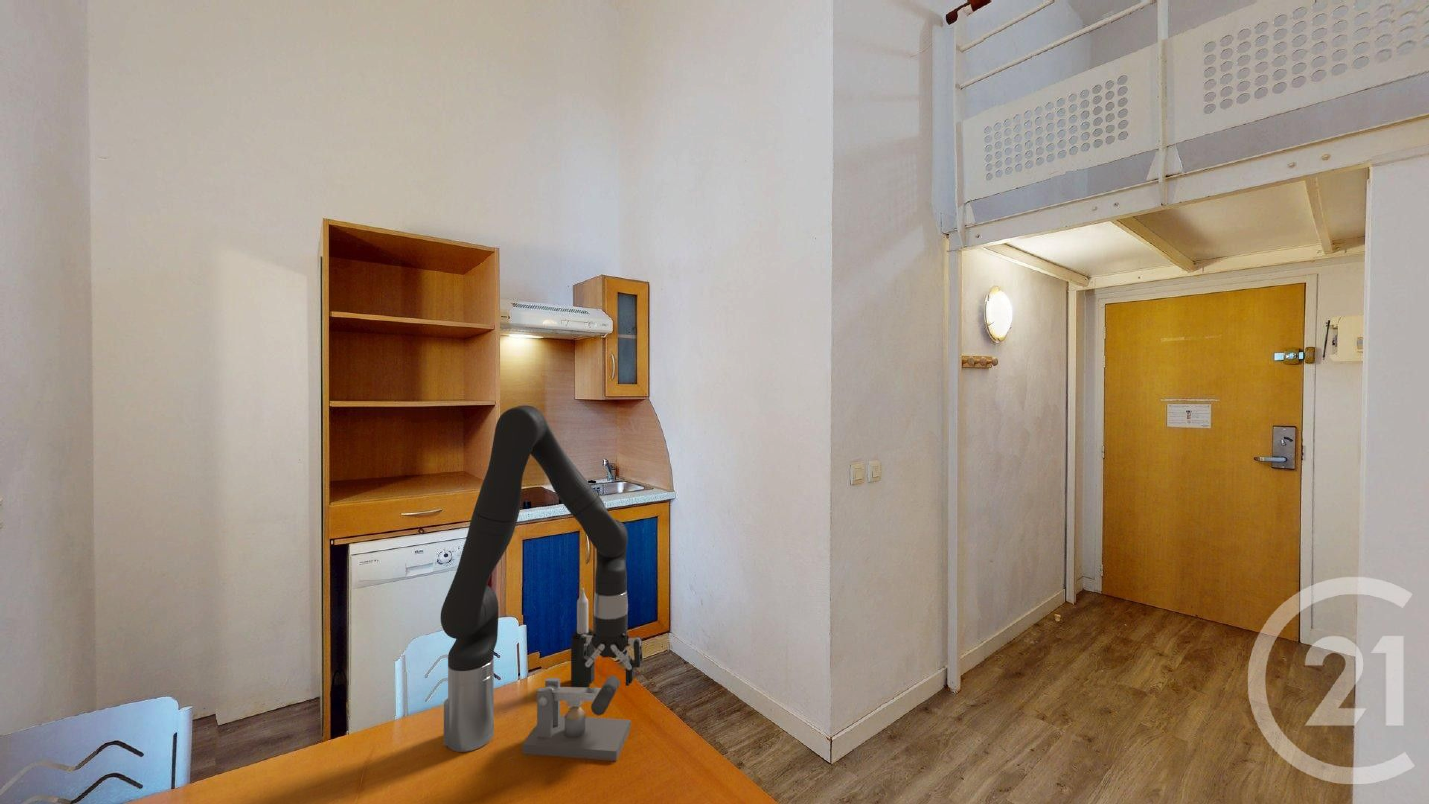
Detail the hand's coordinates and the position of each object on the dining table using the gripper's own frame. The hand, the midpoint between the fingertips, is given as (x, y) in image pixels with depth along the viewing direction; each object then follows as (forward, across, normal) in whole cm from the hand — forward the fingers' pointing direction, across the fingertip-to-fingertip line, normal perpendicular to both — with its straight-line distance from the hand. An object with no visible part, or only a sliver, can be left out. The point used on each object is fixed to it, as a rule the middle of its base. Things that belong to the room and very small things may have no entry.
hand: (609, 682), depth 121 cm
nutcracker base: (+11, -6, -3) cm, 13 cm away
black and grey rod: (+12, -14, +21) cm, 27 cm away
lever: (+3, -6, -3) cm, 8 cm away
